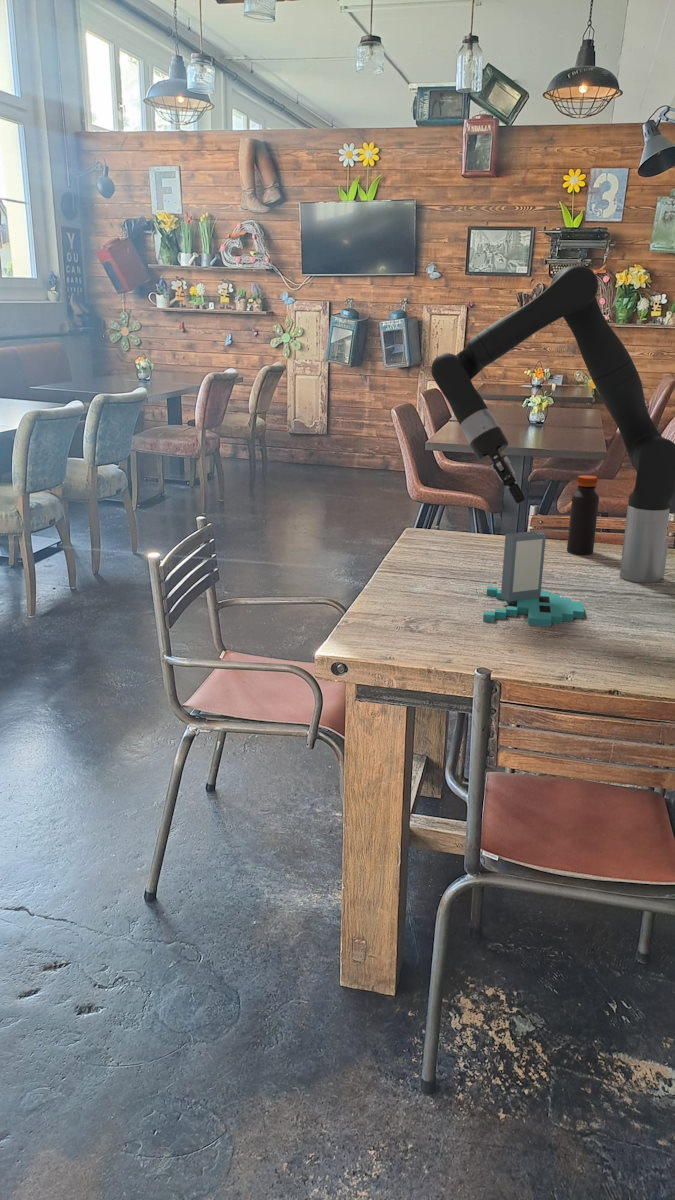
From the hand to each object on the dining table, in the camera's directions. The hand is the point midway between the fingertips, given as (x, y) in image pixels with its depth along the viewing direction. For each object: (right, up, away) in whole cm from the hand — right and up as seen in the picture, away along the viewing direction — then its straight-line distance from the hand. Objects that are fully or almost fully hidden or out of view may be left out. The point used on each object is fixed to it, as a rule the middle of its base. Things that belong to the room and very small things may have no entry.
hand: (521, 502), depth 188 cm
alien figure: (+1, -25, -8) cm, 26 cm away
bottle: (+24, -9, +38) cm, 46 cm away
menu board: (-1, -21, -5) cm, 22 cm away
